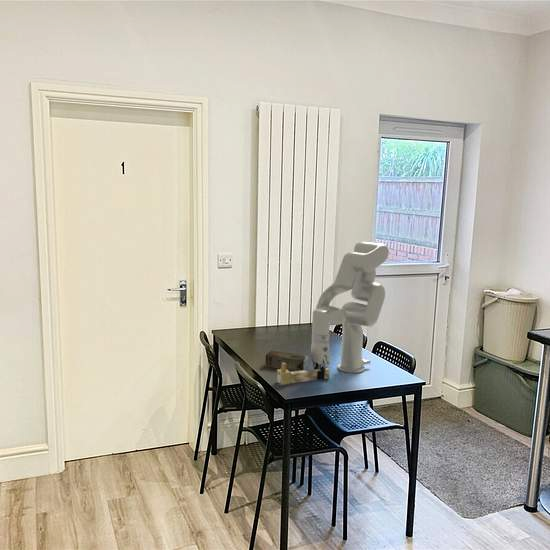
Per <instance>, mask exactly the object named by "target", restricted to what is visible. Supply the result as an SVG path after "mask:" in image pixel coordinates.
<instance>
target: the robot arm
mask: <svg viewBox="0 0 550 550" xmlns="http://www.w3.org/2000/svg"><path fill="white" fill-rule="evenodd" d="M389 254H390V250H389V247H388V246H387V245H386V244H384V243H377V242H376V243H375V242H369V241H360V242H357V243H356V244H355V245H354V247H353V252H347V253H345V254H344V255H343V257H342V259H341V263H340V264H339V265H340V266H339V268H338V272H337V273H336V277H335V280H334V282H333V283H332V284H331V285H330V286H328V287H327V288H326V289H324V291H323V292H322V294H320V296H319V299H318V302H317V304H316V307H315V309H314V310H313V311H312V323H311V325H312V326H311V328H312V329H311V346H310V359H311V361H312V367H313V369H312V370H314V369H319V371H318V374H317V379H318V380H317V381H321V380H322V381H323V380H325V379H324V375H325V369H326V368H328V369H329V364H330V362H331V348H330V327H331V326H338V325H342V333H341V334H342V335H341V336H342V337H341V352H340V353H341V355H340V356H341V357H340V363H338V364H337V370H339V371H341V372H344V373H349V374H359V373H362V372H364V371H365V369H366V368H365V365H371V362H372V361H371V360H370V359H367V360H366V359H365V358H364V359H362V358H363V343H364V342H363V339H364V331H363V327H362V326H364V327H368V328H371V327H373V326H375V325H376V324H377V322H378V319H379V317H380V314H381V311H382V308H383V304H384V301H385V298H386V289H385V287H384V285H382V284H381V283H378V282H375V279H376V276H377V268H378V267H380V266H381V265H383V263H385V262H386V261H387V259H388V258H389ZM349 291H351V292H350V295H351V297H352V298H353V299H354V300H356V301H359V302H363V303H359V302H355V301H349V302H346V303H344V304H343V306H342V307H337V306H332V305H330V304H331V303H332V301H333V300H334V298H336V297H337V296H338V295H341V294H343V293H347V292H349ZM365 303H366V304H365Z"/></svg>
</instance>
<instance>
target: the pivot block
mask: <svg viewBox="0 0 550 550" xmlns="http://www.w3.org/2000/svg"><path fill="white" fill-rule="evenodd" d="M277 383H279V384H278V385H279V386H282V385H281V374H280V373H278V382H277Z"/></svg>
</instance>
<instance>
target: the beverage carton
mask: <svg viewBox="0 0 550 550" xmlns="http://www.w3.org/2000/svg"><path fill="white" fill-rule="evenodd" d="M309 357H310V356H309V355H305V354H303V355H302V354H298V353H290V352H284V351H278V350H270V351H269V352H268V353H267V354H266V355H265V367H267V368H272V367H273V369H279V368H280V369H281V364H282V362H284V363H286V369H287V370H288V371H292V370H295V371H304V370H308V368H309Z"/></svg>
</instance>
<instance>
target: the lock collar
mask: <svg viewBox="0 0 550 550" xmlns="http://www.w3.org/2000/svg"><path fill="white" fill-rule="evenodd" d="M290 372H291V371H290V370H287V369H286V363H284V362H282V364H281V369H279V368H277V370H276V382H277V383H278V373H280V374H281V385H280V386H285V385H286V384H287V385H291V382H290Z"/></svg>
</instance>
